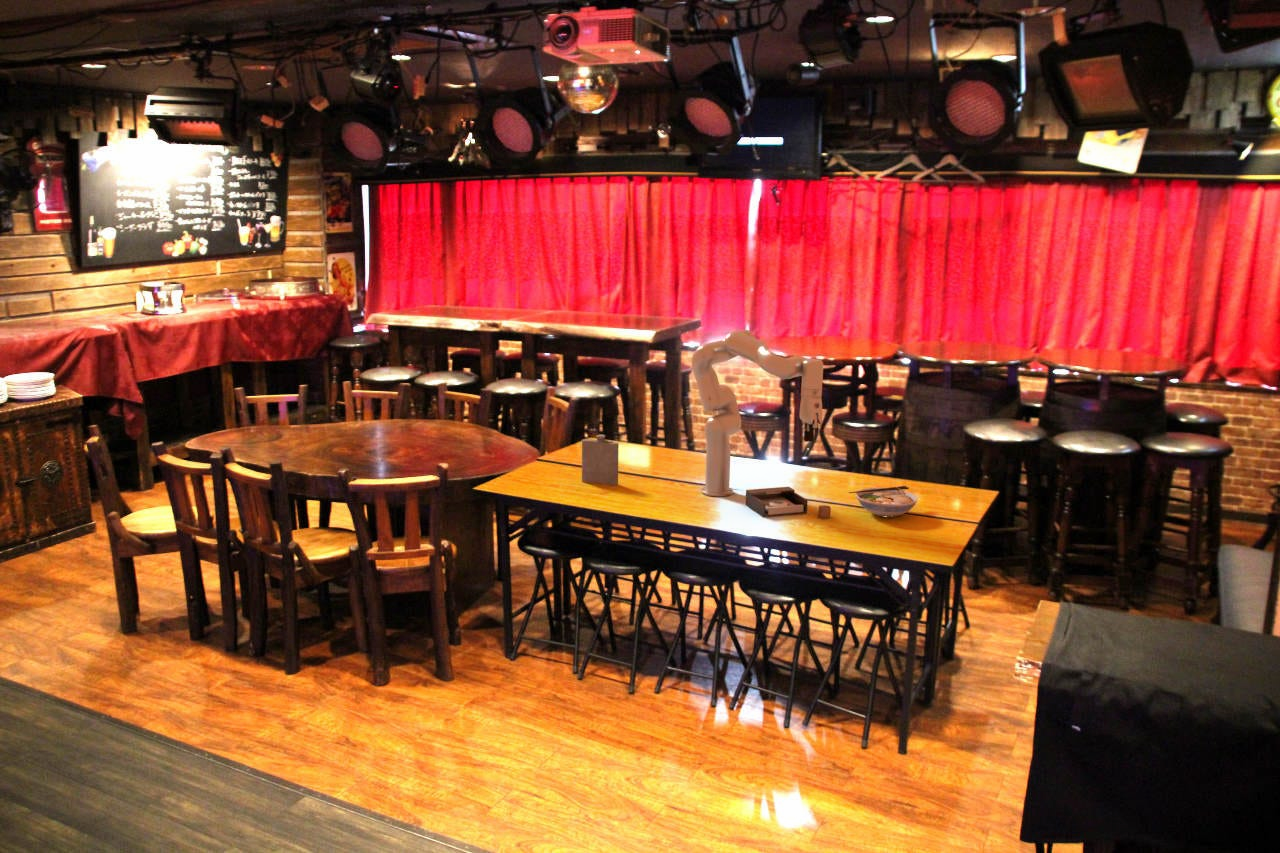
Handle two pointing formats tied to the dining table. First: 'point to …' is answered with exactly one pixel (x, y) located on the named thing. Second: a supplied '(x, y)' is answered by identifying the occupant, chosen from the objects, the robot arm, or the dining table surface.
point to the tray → (781, 507)
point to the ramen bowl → (886, 500)
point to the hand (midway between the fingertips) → (808, 440)
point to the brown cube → (824, 512)
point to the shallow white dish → (777, 503)
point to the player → (778, 492)
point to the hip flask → (600, 461)
